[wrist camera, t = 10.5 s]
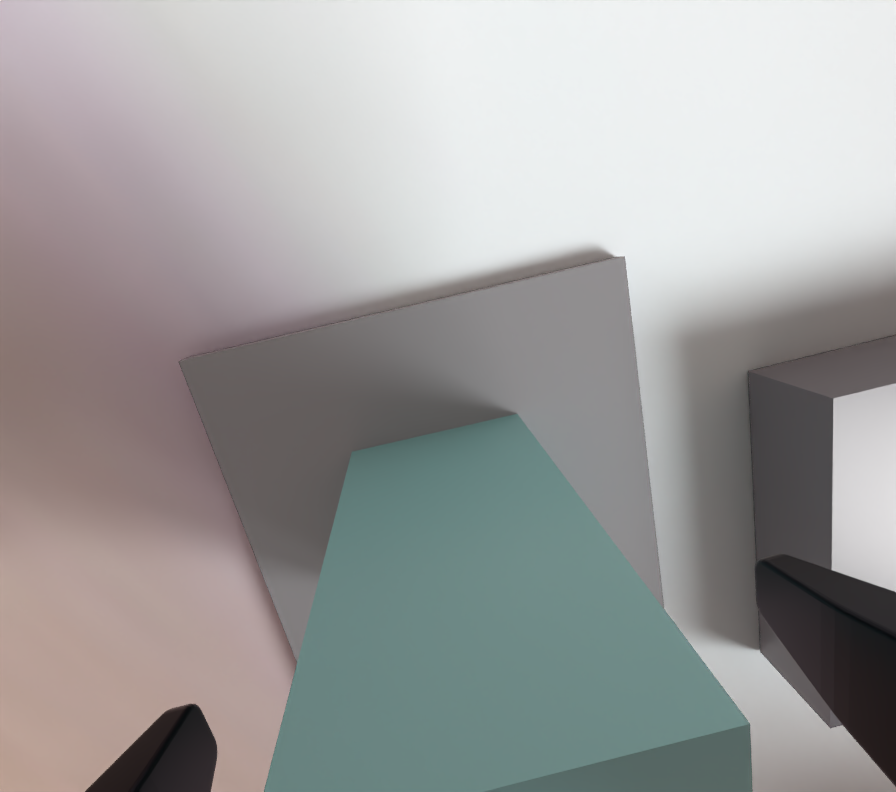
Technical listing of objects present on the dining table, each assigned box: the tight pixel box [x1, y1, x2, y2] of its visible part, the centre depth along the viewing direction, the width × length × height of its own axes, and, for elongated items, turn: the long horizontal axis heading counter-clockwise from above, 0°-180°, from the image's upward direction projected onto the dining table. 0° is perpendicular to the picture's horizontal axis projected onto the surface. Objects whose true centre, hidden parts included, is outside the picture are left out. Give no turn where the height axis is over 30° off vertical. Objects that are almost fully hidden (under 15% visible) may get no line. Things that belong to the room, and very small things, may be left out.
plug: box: [264, 414, 752, 792], centre depth 8 cm, size 4×4×8 cm
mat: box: [179, 257, 664, 662], centre depth 12 cm, size 10×10×1 cm
